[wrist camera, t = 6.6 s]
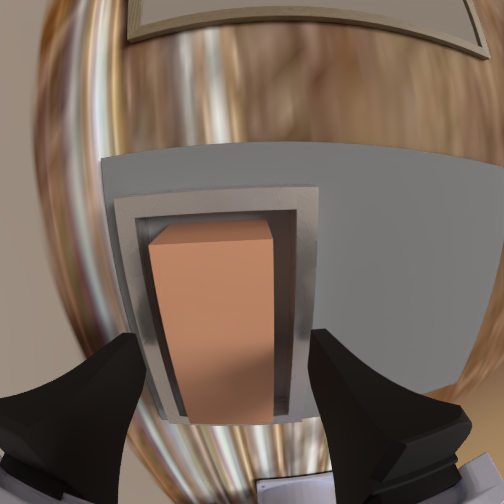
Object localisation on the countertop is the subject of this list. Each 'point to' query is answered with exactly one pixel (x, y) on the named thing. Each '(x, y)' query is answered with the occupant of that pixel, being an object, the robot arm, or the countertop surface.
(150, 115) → the countertop surface
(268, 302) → the tall peach block
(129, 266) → the tray frame
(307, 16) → the framed mirror
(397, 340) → the mat
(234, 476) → the countertop surface
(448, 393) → the countertop surface
